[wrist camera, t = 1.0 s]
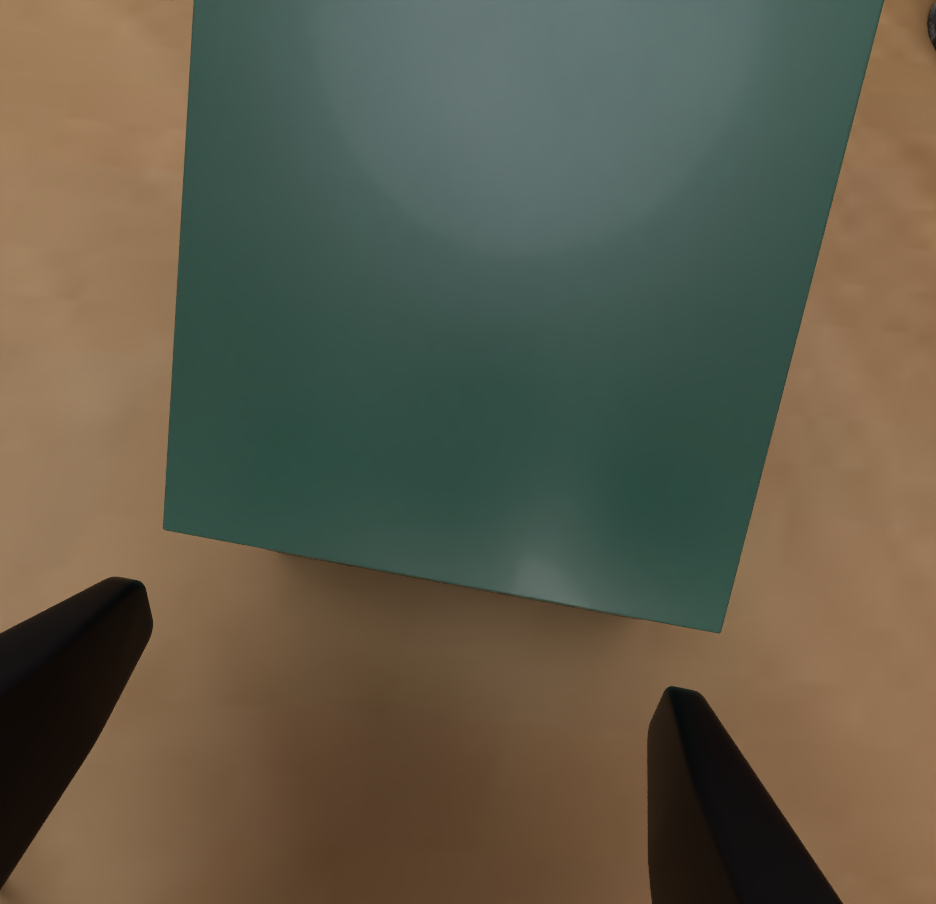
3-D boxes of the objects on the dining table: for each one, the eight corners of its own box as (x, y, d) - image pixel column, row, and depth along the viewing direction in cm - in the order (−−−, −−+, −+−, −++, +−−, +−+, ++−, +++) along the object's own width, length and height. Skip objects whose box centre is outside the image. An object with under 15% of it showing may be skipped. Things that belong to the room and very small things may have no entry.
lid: (230, -245, 12) (208, -287, 11) (912, -178, 11) (942, -217, 10) (180, 520, 15) (161, 530, 14) (710, 618, 14) (721, 634, 13)
